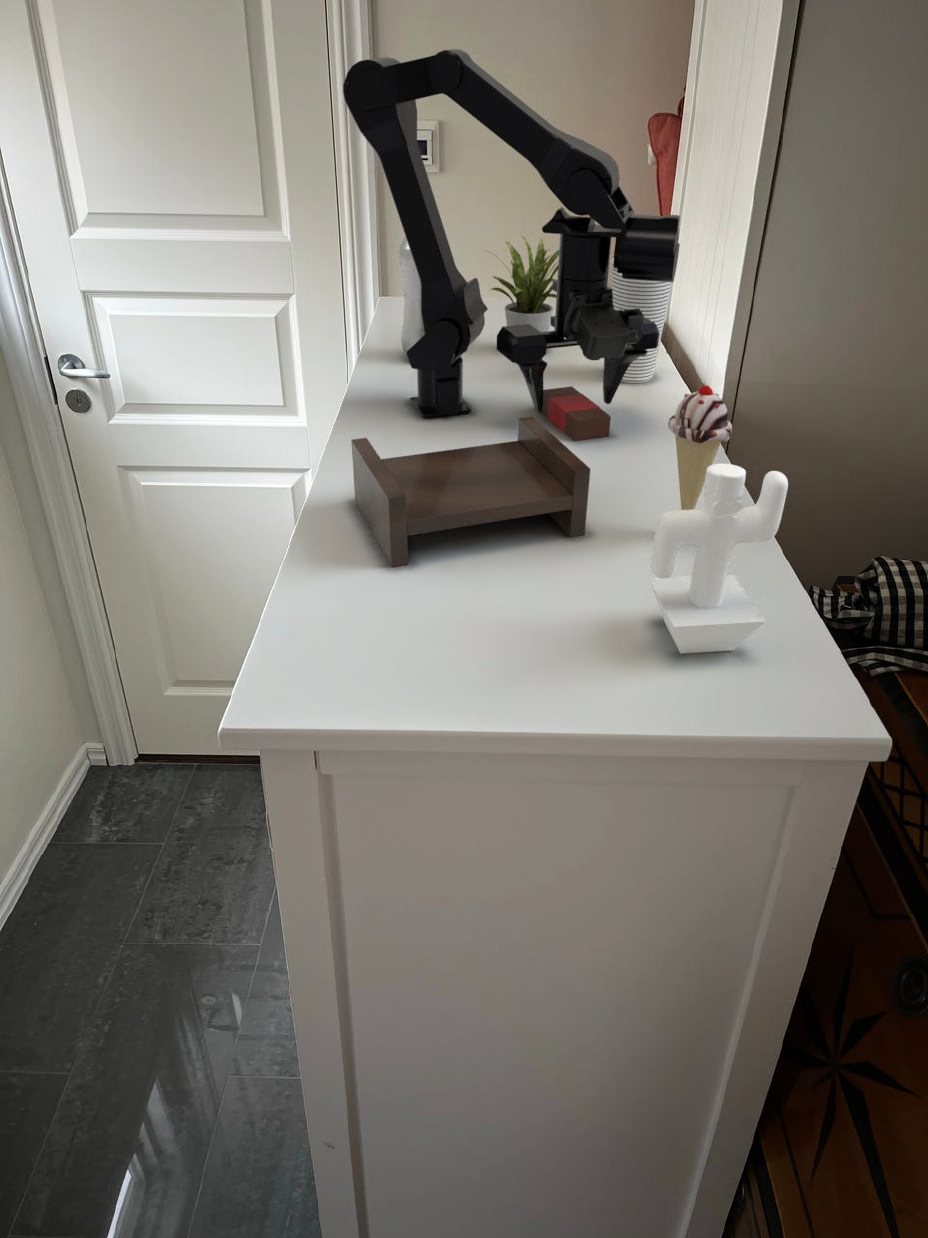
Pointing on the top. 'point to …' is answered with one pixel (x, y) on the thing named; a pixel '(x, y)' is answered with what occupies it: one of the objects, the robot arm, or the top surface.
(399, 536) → the shelf
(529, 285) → the house plant
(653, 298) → the cup
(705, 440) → the ice cream cone
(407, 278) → the plastic bottle
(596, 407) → the chocolate bar
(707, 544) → the figurine
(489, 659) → the top surface
